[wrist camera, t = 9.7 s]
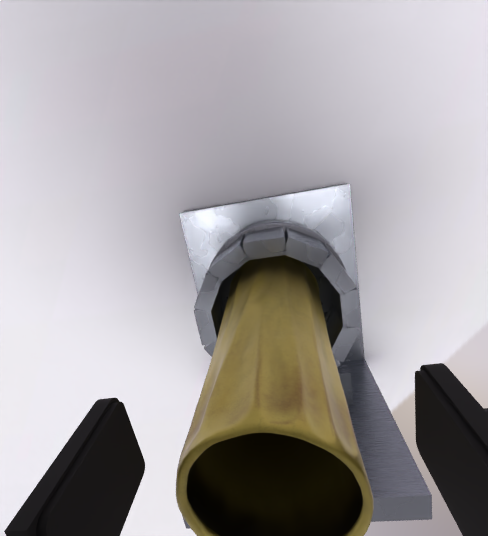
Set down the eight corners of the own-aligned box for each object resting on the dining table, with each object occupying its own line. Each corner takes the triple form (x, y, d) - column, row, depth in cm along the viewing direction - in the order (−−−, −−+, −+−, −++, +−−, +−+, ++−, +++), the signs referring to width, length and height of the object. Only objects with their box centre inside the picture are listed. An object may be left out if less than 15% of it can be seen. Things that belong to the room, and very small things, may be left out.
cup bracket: (182, 212, 24) (99, 249, 12) (346, 183, 22) (426, 195, 11) (221, 381, 28) (186, 528, 16) (362, 367, 26) (431, 519, 15)
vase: (236, 245, 21) (164, 389, 7) (328, 260, 21) (428, 437, 7) (224, 326, 23) (151, 558, 9) (309, 341, 23) (360, 601, 9)
